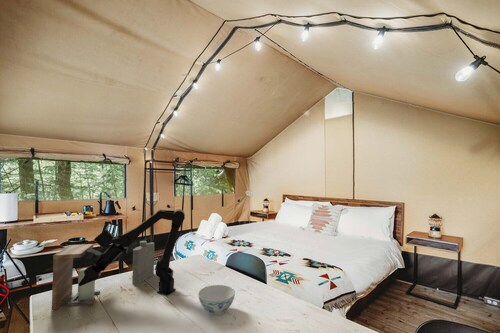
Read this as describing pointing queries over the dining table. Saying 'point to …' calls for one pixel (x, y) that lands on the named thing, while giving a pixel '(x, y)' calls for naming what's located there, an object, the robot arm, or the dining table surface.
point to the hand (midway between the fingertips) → (83, 281)
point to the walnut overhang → (67, 275)
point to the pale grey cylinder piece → (85, 288)
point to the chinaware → (216, 298)
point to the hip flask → (143, 262)
